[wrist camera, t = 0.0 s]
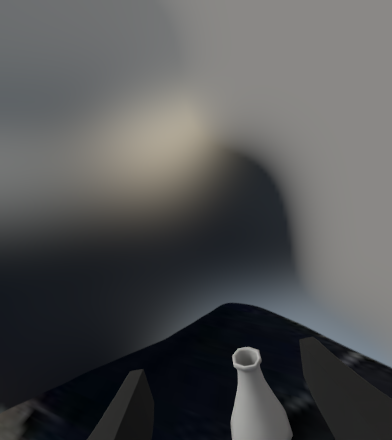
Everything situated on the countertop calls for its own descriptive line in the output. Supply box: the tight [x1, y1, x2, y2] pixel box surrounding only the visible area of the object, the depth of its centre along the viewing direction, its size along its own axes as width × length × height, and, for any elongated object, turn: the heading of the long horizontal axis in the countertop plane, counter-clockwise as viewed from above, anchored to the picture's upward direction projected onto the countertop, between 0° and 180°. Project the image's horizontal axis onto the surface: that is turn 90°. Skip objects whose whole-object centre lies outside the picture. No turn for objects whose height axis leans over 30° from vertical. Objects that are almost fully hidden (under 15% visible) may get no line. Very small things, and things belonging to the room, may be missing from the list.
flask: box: [231, 347, 293, 440], centre depth 29 cm, size 7×7×10 cm
